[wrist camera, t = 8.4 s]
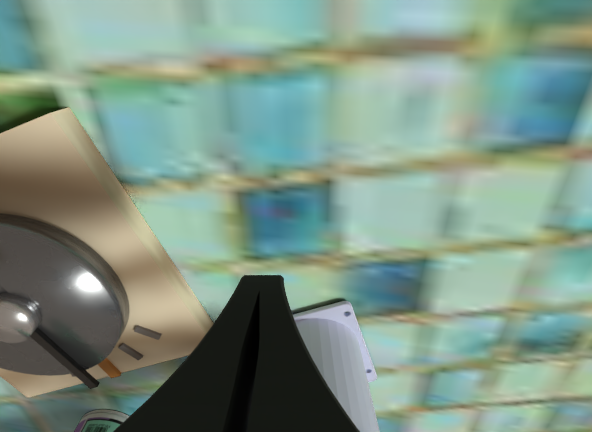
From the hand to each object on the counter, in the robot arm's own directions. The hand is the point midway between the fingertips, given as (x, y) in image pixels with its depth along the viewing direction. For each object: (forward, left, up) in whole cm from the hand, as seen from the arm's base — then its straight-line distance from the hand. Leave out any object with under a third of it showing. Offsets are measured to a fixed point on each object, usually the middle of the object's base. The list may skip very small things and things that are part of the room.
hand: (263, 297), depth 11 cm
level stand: (-1, +17, -9) cm, 19 cm away
